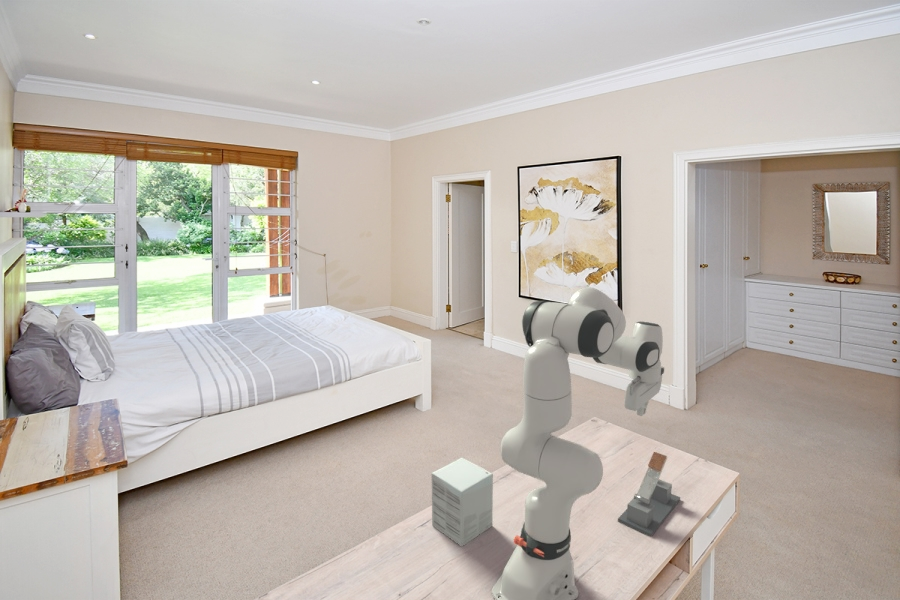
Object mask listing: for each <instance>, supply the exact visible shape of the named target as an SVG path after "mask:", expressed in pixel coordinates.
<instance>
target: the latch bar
mask: <svg viewBox="0 0 900 600" xmlns="http://www.w3.org/2000/svg"><path fill="white" fill-rule="evenodd" d="M667 461H668V456H667V455H665V454H662V453H659V452H656V451H653V453H652V455H651V458H650V460H649V463H648V464H647V466H648V468H647V470H646V472H645V475H644V476H643V479H642V482H641V484H640V486H639V488H638V490H637V493H635V494H634V496H633V498H634V499H635V500H638V501H640V502H642V503H645V504H647V505H650V503H651V500H650V499H651V496H652V494H653V491H654V489H655V487H656V484H657V482H658V479H660V477H661V474H662V472H663V470H664V468H665V465H666V463H667Z"/></svg>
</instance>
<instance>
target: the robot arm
mask: <svg viewBox="0 0 900 600" xmlns="http://www.w3.org/2000/svg"><path fill="white" fill-rule="evenodd" d="M626 320H627V319H626V317H625V314H624V312H623V310H622V309H621V308H620V307H619V306H618V305H617V303H616V302H615V301H614V300H613V299H612V298H611V297H610V296H608V295H607V294H606V293H604V292H603V291H601V290H599V289H597V288H594V287H589V286H588V287H583V288H580V289H578V290H576V291H575V292H574V293H573V294H571V297H570V298H569V300H568V303H564V302H553V301H550V300H537V301H536V300H535V301H533V302H531V303H529V306H527V308H526V309H525V311H524V313H523V315H522V319H521V325H522V332H523V335H524V339H525V341H526V342H525V343H526V344H527V345H528V347H529V348H528V349H527V351H526V352H525V356H524V360H523V361H524V362H523V369H522V371H523V372H522V394H523V395H522V397H523V398H522V399H523V404H522V406H523V407H522V409H523V411H522V416H521V420H520V422H519V423H517V425H516V426H514V427H511V428H510V429H509V430H507V431H506V433H505V434H504V435H503V437H502V439H501V441H500V449H499V450H500V456H501V459H502V461H503V463H504V464H506V465H507V466H510V467H511V468H512V469H514V470H515V471H517V472H518V473H521V474H523V475H527V476H529V477H532V478H534V479H537V480H540V481H542V482H544V483H545V485H542V486H539V487H536V488H535V489H532V490H531V491H530V492H529V493H528V494H527V496H526V498H525V503H524V521H523V524H522V528H521V531H520V532H521V533H520V536H519V535H518V534H517V535H515V536H514V537H513V543H514V544H515V545H516V547H515V548H514V550H513V552H512V554H511V555H510V557H509V560H508V561H507V563H506V565H505V566H504V568H503V571H502V574H501V575H500V576H499V578H498V580H497V581H496V582H495V583H494V584H493V587H492V589H491V592H492V593H491V595H493V596H492V598H493V597H494V598H495V599H496V600H575V599H577V598H578V597H579V590H578V587H577V586H576V583H575V567H574V565H575V562H574V560H573V558H572V553H571V551H570V547H571V543H572V542H571V541H572V535H571V528H570V521H571V520H570V519H571V513H572V508H573V505H574V503H575V502H576V501H577V499H579V498H580V497H582V496H586V495H589V494H590V493H592V492H594V491H595V490H596V489H597V488H598V487H599V486H600V484H601V483H602V480H603V473H604V466H603V462H602V460H601V457H600V456H599V454H598V453H596V452H595V451H593V450H591V449H589V448H588V447H587V446H584V445H582V444H580V443H577V442H574V441H571V440H567V439H564V438H561V437H558V436H555V435H553V434H552V433H555V432H558V431H561V430H562V429H564V428H566V426H568V424H569V423H570V421H571V419H572V417H573V416H572V415H573V414H572V413H573V412H572V409H573V407H572V406H573V405H572V404H573V403H572V402H573V401H572V378H571V377H572V376H571V370H570V364H569V359H568V358H569V355H570V354H573V355H581V357H582V356H583V357H585V358H592V360H593V361H595V362H596V363H597V364H603V365H608V366H613V367H617V368H620V369H624V370H629V373H628V377H629V379H631V382H630V383H628V385H627V386H626V389H625V395H624V408H625V409H626V410H629V411H632V412H636V415H637V416H640V417H642V416H643V415H645V414H646V413H647V408H648V405H649V401H650V400H651V399H653V398H655V396H656V395H657V394H659V393H660V391H661V387H662V383H663V382H662V381H663V374H664V373H665V367H664V366H662V363H661V362H662V361H661V355H662V354H663V342H664V341H663V328H662V326H661V325H659V324H658V323H654V322H648V321H636V322H635V324H634V327H633V331H632V336H629V335H628V336H627V335H623V334H624V332H625V330H626V327H627V321H626ZM498 597H501V598H498ZM494 598H493V599H494ZM495 599H494V600H495Z"/></svg>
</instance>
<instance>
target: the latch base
mask: <svg viewBox="0 0 900 600" xmlns="http://www.w3.org/2000/svg"><path fill="white" fill-rule="evenodd" d="M672 488H673V484H672V483H670V482H667V481H665V480H662V479H660V478H659V479H658V482H657V484H656V487H655V489H654V491H653V494H652V496H651V499H650V500H651V503H650V505H647V504H645V503H642V502H640V501H638V500H635V499H634V497H633V498H632V499H631V500H629V502H628V503H627V508H626V509H625V510H624V512H623V513H621V515H620V516H619V517H618V518H617V522H619V523H620V524H622V525H624V526H627V527H629V528H631V529H633V530H635V531H637V532H640V533H641V534H644V535H646V536H648V537H652V536H654V534H655V533H656V532H657V530H658V529H659V528H660V526H661V525H662V524H663V523H664V521H666V519H667V517H669V515H670V514H671V513H672V511H673V510H674V509H675V507H676V506H677V505H678V504H679V502H680V501H681V497H680V496H677V495H676V494H673V493H672V490H673V489H672Z"/></svg>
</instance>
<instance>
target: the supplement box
mask: <svg viewBox="0 0 900 600" xmlns="http://www.w3.org/2000/svg"><path fill="white" fill-rule="evenodd" d="M493 484H494V475H493V473H492V472H491V471H488V470H486V469H485V468H483V467H482V466H479V465H477V464H476V463H474V462H472V461H470V460H468V459H466V458H465V457H460V458H457V459H456V460H454V461H453V462H450V463H449V464H447V465H445V466H442V467H441V468H439V469H437V470H435V471H432V472H431V516H432V517H431V524H432V526H433V527H434V528H435V529H437V530H438V531H439V532H440V533H441V534H443V533H444V536H446V537H448V538H449V539H450V538H451V539H450V540H452V541H453V540H454V541H455V542H454V541H453V542H454V543H456V544H457V543H458V544H459V545H458V544H457V545H458V546H460V547H463V545H464V546H465V545H467V543H470V542H471V541H472V540H474V539H475V538H476V537H478V536H480V535H481V534H482V533H484V532H485V531H486V530H488V529H490V528H491V527H492V526H493V507H494V506H493V502H494V501H493V500H494V499H493V496H494V495H493V494H494V493H493V491H494V489H493V488H494V485H493ZM479 534H480V535H479Z"/></svg>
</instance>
